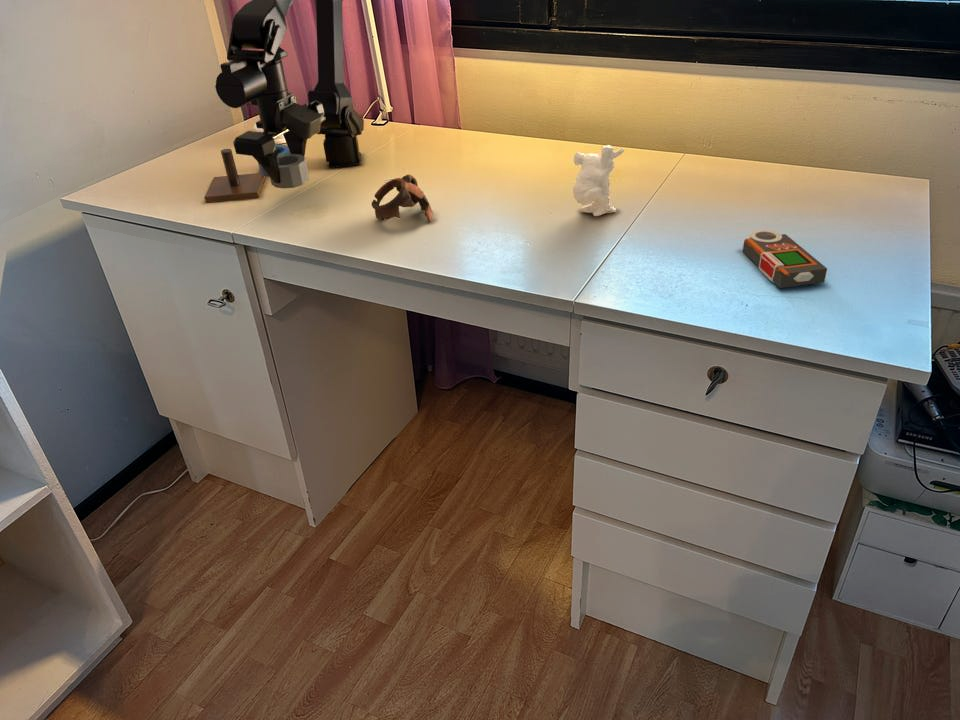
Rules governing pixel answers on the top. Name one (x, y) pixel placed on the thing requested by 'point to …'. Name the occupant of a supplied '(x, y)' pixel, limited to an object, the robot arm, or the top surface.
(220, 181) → the tape stand
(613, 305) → the top surface
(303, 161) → the grey thick polygonal ring
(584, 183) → the koala figurine
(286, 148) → the blue ring
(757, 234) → the electronic device
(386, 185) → the brown looped band
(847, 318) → the top surface
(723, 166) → the top surface
